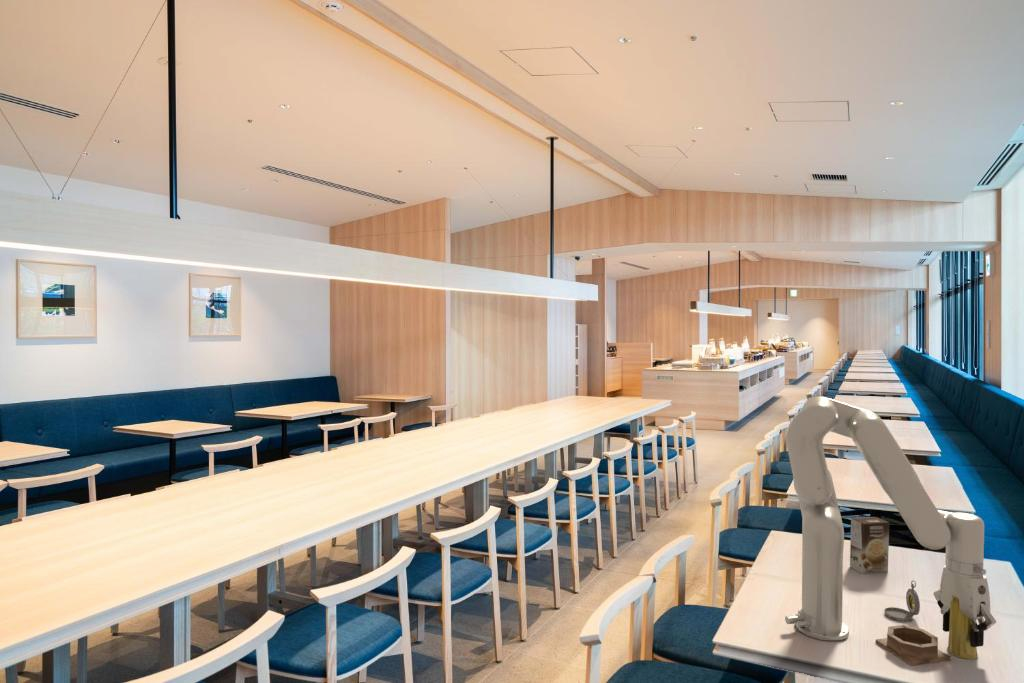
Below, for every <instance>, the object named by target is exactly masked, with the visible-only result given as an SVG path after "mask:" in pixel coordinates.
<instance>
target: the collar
mask: <svg viewBox="0 0 1024 683" xmlns="http://www.w3.org/2000/svg"><path fill="white" fill-rule="evenodd" d="M938 640H939V639H938V636H936V635H934V634H932V633H931V632H928V630H925V629H924V628H919V627H914V626H910V625H905V624H900V625H899V624H898V625H893V626H888V627H887V633H886V637H884V638H877V639H875V643H876V644H877V645H879V646H880V647H882V648H883V649H885V650H886V651H887V652H890V653H891V654H892V655H894V656H896V657H897V658H898V659H900V660H902V661H903V662H905V663H906V664H907V665H909V666H911V667H912V666H919V665H925V664H932V663H939V662H946V661H951V656H950V655H949V654H947V653H945V652H944V651H942V650H940V649H938V648H939V646H938V645H939V644H938V643H939V641H938Z"/></svg>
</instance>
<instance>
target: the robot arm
mask: <svg viewBox="0 0 1024 683" xmlns="http://www.w3.org/2000/svg"><path fill="white" fill-rule="evenodd" d="M830 432H831V433H834V434H836V435H840V436H843V437H847V438H850V439H852V440H851V441H852V442H853V443H854V445H855V446H856V448H857V449H858V451H859V453H860V454H861V457H863V459H864V460H865V462H866V464H867V466H868V467H869V469H870V470H871V472H872V473H873V475H874V476H875V478H876V480H877V482H878V483H879V485H880V487H881V489H882V490H883V491H884V492H885V494H886V495H887V496H888V498H889V499H890V500H891V502H892V503H893V505H894V506H895V508H896V509H897V511H898V513H899V515H901V518H902V519H903V521H904V522H905V524H906V525H907V527H908V529H909V530H910V532H911V533H912V535H913V536H914V539H915V540H916V541H917V542H918V544H920V545H921V546H922V547H924V548H926V549H929V550H942V549H944V548H945V565H944V566H943V567H942V572H941V577H940V585H939V589H938V590H936V591H934V592H933V596H934V598H935V600H936V601H937V602H936V604H937V605H938V607H939V609H940V614H942V631H943V632H944V633H945V632H946V633H947V632H948V633H949V620H950V605H951V602H952V599H953V598H952V595H954V596H956V597H958V598H959V606H960V610H961V613H962V614H963V615H965V616H966V617H968V618H969V619H970V622H971V625H972V628H973V630H971V631H970V646H972V647H977V648H978V647H979V648H980V647H983V646H984V642H985V641H984V640H985V639H984V638H985V635H984V634H985V632H986V631H987V630H988V629H990V628H991V627H992V626H994V625H996V623H997V620H996V619H995V617H994V615H992V613H991V596H990V588H989V583H988V579H987V576H985V575H986V573H987V570H986V569H985V568H984V561H985V560H984V552H985V551H984V549H985V547H984V546H985V545H984V544H985V522H984V520H983V519H982V517H980V516H978V515H976V514H973V513H968V512H958V511H957V512H950V511H945V510H940V509H937V507H936V506H935V504H934V502H933V500H932V499H931V497H930V496H929V494H928V492H927V490H926V489H925V488H924V486H923V484H922V482H921V480H920V477H919V476H918V473H917V472H916V470H915V469H914V467H913V465H912V464H911V462H910V460H909V459H908V457H907V455H906V454H905V453H904V451H903V450H902V448H901V447H900V445H899V444H898V442H897V440H896V438H895V437H894V436H893V434H892V432H891V431H890V430H889V428H888V426H887V425H886V423H885V422H884V420H883V419H882V418H881V417H880V415H879V414H877V413H875V412H874V411H871V410H867V409H864V408H860V407H857V406H854V405H852V404H848V403H845V402H843V401H842V402H841V401H838V400H835V399H832V398H829V397H825V396H814V397H811V398H809V399H808V400H807V401H806V402H805V403H804V404H803V406H802V410H801V411H799V413H797V414H796V415H795V416H794V418H792V421H791V422H790V424H789V426H788V429H787V432H786V446H787V451H788V452H787V453H788V458H789V463H790V468H791V472H792V477H793V487H794V491H795V494H797V499H798V503H799V506H800V507H799V508H800V511H801V518H802V519H801V520H802V524H801V525H802V526H801V527H802V528H801V529H802V531H801V535H802V536H801V537H802V538H801V539H802V540H801V542H802V548H801V550H802V553H801V569H802V570H801V574H802V575H801V609H800V608H799V609H798V610H797V613H796V614H795V615H787V616H785V618H784V621H785V623H786V624H787V625H793V624H795V625H794V626H795V627H796V629H797V630H798V631H799V632H800V633H802V634H804V635H806V636H808V637H810V638H814V639H816V640H817V639H818V640H821V641H831V642H832V641H841V640H845V639H846V638H848V636H849V635H850V633H849V632H850V631H849V630H850V629H849V627H848V626H847V624H845V623H844V622H843V590H844V589H843V585H844V583H843V582H844V580H843V579H844V574H843V572H844V569H843V567H844V563H843V562H844V544H845V530H844V524H843V520H842V515H841V511H840V508H839V504H838V498H837V494H836V490H835V485H834V482H833V477H832V473H831V471H830V470H829V468H828V466H827V461H826V455H825V450H824V446H823V441H824V439H825V437H826V436H827V434H829V433H830ZM977 622H978V623H977Z"/></svg>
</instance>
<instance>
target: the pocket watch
mask: <svg viewBox="0 0 1024 683" xmlns="http://www.w3.org/2000/svg"><path fill="white" fill-rule="evenodd" d="M913 582H914V583H913ZM910 587H911V588H908V589H907V591H906V598H905V601H906V606H907V609H908V610H906V609H903V608H901V607H893V606H891V607H886V608H884V611H883V612H884V614H885V615H886V616H887V617H888V618H891V619H894V620H898V621H911V620H912V619H913V616H918V615H919V613H920V611H921V604H920V598H919V595H918V593H917V591H916V590H915V588H916V587H917V582H916V581H915V580H911V582H910Z"/></svg>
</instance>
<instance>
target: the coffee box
mask: <svg viewBox="0 0 1024 683" xmlns="http://www.w3.org/2000/svg"><path fill="white" fill-rule="evenodd" d="M889 541H890V522H889V521H887V520H885V519H883V518H880V517H877V516H860V517H859V516H858V517H857V516H856V517H850V541H849V542H850V545H849V546H850V548H849V549H850V550H849V552H850V553H849V554H850V555H849V567H850V568H852V569H854V570H855V571H857V572H859V573H860V574H875V573H876V574H877V573H888V572H889V552H890V551H889V547H890V546H889V545H890V544H889V543H890V542H889Z"/></svg>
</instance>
